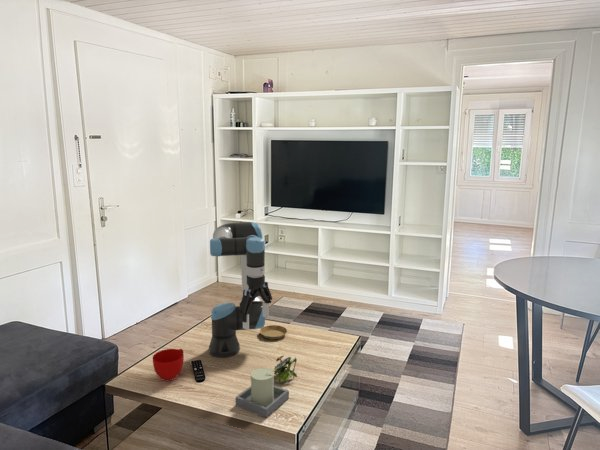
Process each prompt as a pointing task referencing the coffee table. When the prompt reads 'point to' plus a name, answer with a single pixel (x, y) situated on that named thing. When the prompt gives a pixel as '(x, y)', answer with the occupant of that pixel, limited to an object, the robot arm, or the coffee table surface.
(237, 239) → the robot arm
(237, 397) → the tray
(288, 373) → the passion flower
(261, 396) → the can
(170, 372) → the red bowl
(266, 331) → the plant saucer
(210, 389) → the coffee table surface
